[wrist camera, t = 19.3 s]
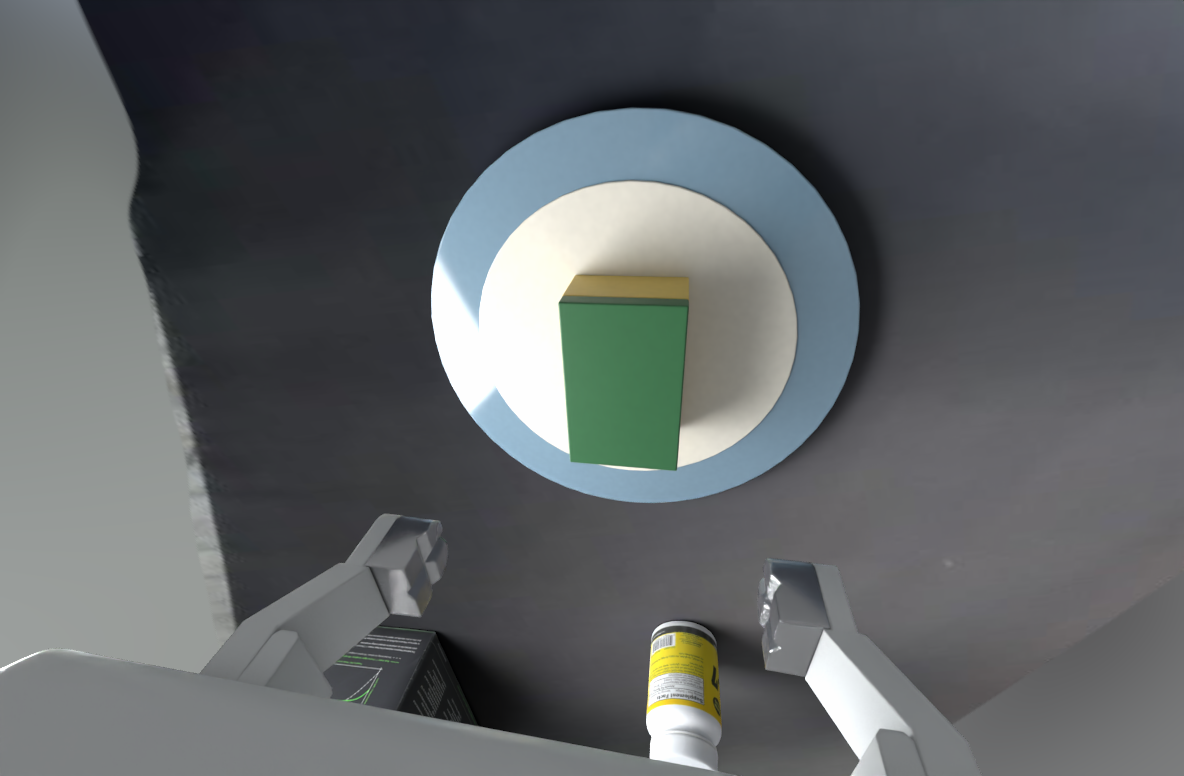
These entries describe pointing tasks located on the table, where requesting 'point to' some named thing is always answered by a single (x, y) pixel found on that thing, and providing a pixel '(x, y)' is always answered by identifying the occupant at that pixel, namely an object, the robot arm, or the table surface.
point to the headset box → (400, 675)
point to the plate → (659, 249)
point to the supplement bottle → (684, 695)
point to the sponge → (624, 368)
